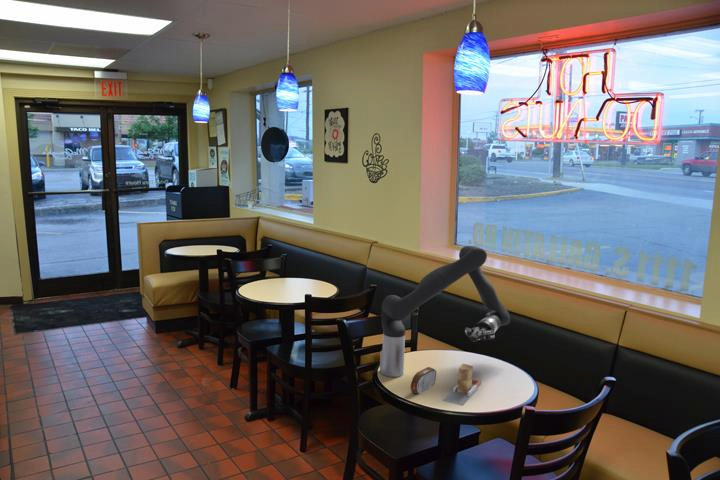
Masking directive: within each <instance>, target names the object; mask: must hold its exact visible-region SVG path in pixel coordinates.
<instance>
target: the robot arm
mask: <svg viewBox="0 0 720 480" xmlns="http://www.w3.org/2000/svg"><path fill="white" fill-rule="evenodd" d="M487 257H488V254H487V251H486V250H485V249H484V248H483V247H480V246H475V245H466V246H463V247H461V249H460V251H459V254H458V259H457V260H455V261H454V262H451V263H448V264H444V265H442V266H439V267H437V268H435V269H433V270H431V271H430V272H428V274H426V275H425V276H423V278H421V280H420V281H419V283H418V285H417V286H416V287H415V289H414V290H413V291H412V292H409V294H407V295H405V296H404V297H400V296H398V295H395V294H389V295H387V296H386V297H385V298H384V299H383V301H382V304H381V327H382V331H383V332H382V349H381V350H380V354H379V355H380V357H379V359H380V360H379V373H380V374H382V375H384V376H386V377H391V378H397V377H398V378H399V377H402V376H404V370H405V369H404V368H405V366H404V365H405V348H406V347H405V346H406V344H405V343H406V328H405V325H404V324H403V320H405V319H406V318H408V317H409V316H410V315H412V313H414V312H415V311H416V310H417V309H418V308H420V307H421V306H422V305H423V304H425V303H427V302H428V301H429V300H431V299H432V298H434V297H436V296H437V295H438V294H440V293H441V292H443V291H445V290H446V289H447V288H448V287H450V286H452V285H453V284H454V283H456V282H457V281H458V280H460V279H461V278H463V277H465V276H466V275H469V277H470V279H471V281H472V283H473V285H474V286H475V288H476V290H477V292H478V295H479V296H480V299H481V302H482V304H483V306H484V308H485V309H486V310H492V311H489V312H487V313H486V314H485V317H484V318H483V319H481V320H479V321H478V322H477V323H476V324H475V325H474V327H472V328H469V327H467V326H466V327H465V329H464V333H465V335H466V336H467V337H468V338H469V341H470V342H473V343H475V342H477V341H480V340H481V341H489V340H495V333H496V331H497V330H498V329H500V327H503V326H507V325H508V324H510V322H511V315H510V313H509V311H508V310H507V309H506V307H505V306H504V305H503V304H502V302H501V301H500V299H499V297H498V295H497V292H496V290H495V288H494V286H493V285H492V283H491V282H490V280H489V279H488V278H487V276H486V275H485V274H484V272H483V271H482V269H481V267H482V266H483V265H485V263H486V261H487V259H488V258H487Z"/></svg>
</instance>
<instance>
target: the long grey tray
mask: <svg viewBox="0 0 720 480" xmlns="http://www.w3.org/2000/svg"><path fill="white" fill-rule="evenodd" d="M472 384H474V385H472V387H471V389H470V390H469V391H468V394H463V393H459V392H457V387H458V383H457V384H456V385H455V386H454V387H453V388H452V390H451V391H450V393H448V394H447V395H446V396H445V397H444V398H443V399H442V401H443V402H448V403H452V404H454V405H458V406H462V407H463V406H464V405H465V404H466V403H467V402H468V401H469V400H470V399H471V398H472V396H473V395H474V394H475V393H476V392H477V391H478V390H479V389H478V388H479V387H480V386H481V385H482V380H479V379H475V378H472Z"/></svg>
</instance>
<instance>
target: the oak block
mask: <svg viewBox="0 0 720 480" xmlns="http://www.w3.org/2000/svg"><path fill="white" fill-rule="evenodd" d="M473 366H474V365H470V364H467V363H462V364H461V365H460V366H459V367H458V372H457V373H458V374H457V384H458V387H457V392H459V393H463V394H468V391H469V390H470V389H471V388H472V387H473V385H472V384H473V383H472V379H473V371H474V370H473V369H474V367H473Z"/></svg>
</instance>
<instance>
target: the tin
mask: <svg viewBox="0 0 720 480" xmlns="http://www.w3.org/2000/svg"><path fill="white" fill-rule="evenodd" d="M436 378H437V371H436V369H435V368H433V367H430V366H427V367H426V368H423V369H420V370H419V371H417V372H416V373H415V374H414V375H413V377H412V379H411V384H410V391H411V392H412V393H414V394H417V395H420V394H421V393H423V392H425V391H427V390H428V389H430V388H431V387H433V386H434V384H435V382H436V380H437V379H436Z"/></svg>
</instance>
